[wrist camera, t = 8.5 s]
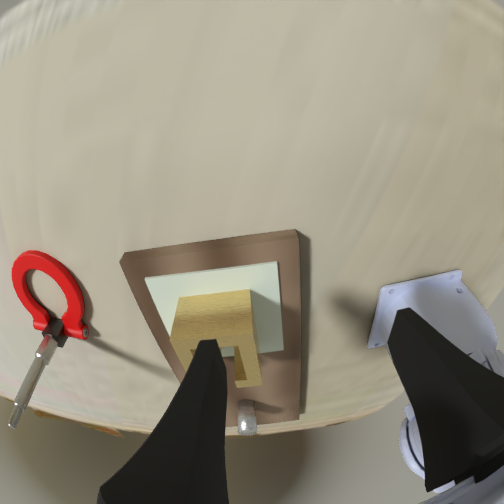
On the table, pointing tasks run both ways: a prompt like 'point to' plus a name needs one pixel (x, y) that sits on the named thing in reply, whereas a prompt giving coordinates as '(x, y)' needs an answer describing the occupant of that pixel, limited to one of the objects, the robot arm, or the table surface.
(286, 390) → the stand board
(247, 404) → the steel post
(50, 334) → the tow hook
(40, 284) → the table surface
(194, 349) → the wooden box
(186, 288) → the sage pad
